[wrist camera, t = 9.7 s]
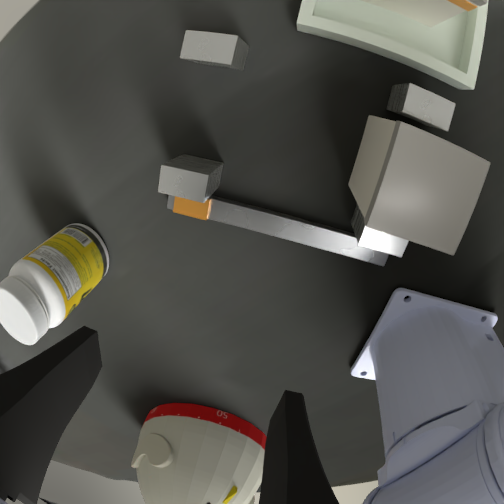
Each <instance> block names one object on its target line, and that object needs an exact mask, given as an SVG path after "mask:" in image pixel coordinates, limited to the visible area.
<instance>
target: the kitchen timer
mask: <svg viewBox="0 0 504 504" xmlns="http://www.w3.org/2000/svg"><path fill="white" fill-rule="evenodd" d="M266 438H267V437H266V436H265V434H264V433H263V432H262V431H260V430H259V429H258V428H256V427H255V426H254V425H252V424H251V423H249V422H247V421H245V420H243V419H241V418H239V417H237V416H235V415H233V414H230V413H227V412H224V411H221V410H218V409H215V408H212V407H207V406H202V405H197V404H190V403H169V404H163V405H159V406H157V407H155V408H154V409H152V410H150V412H149V414H148V416H147V418H146V420H145V422H144V424H143V426H142V428H141V431H140V435H139V439H138V446H137V448H136V451H135V454H134V456H133V460H132V464H131V467H134V468H137V477H138V483H139V487H140V490H141V493H142V496H143V499H144V501H145V504H254V500H255V497H254V494H255V493H256V491H257V489H258V488H259V486H260V484H261V482H262V473H263V463H264V453H265V443H266Z"/></svg>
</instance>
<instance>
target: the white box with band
mask: <svg viewBox="0 0 504 504" xmlns="http://www.w3.org/2000/svg"><path fill="white" fill-rule="evenodd" d="M361 1H364V2H367V3H370V4H373V5H376V6H379V7H382V8H385V9H388V10H390V11H393V12H395V13H398V14H401V15H403V16H406V17H408V18H410V19H413V20H415V21H417V22H420V23H422V24H424V25H427V26H429V27H433V26H435V25H437V24H439V23H441V22H443V21H445V20H447V19H449V18H451V17H454V16H456V15H458V14H460V13H462V12H464V11H471V10H473V9H475V8H477V6H482V5H485V4H487V0H361Z"/></svg>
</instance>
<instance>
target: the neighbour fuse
mask: <svg viewBox="0 0 504 504" xmlns="http://www.w3.org/2000/svg"><path fill="white" fill-rule="evenodd" d="M489 166H490V162H488V161H487V160H485V159H483V158H481V157H479V156H477V155H475V154H473V153H471V152H469V151H467V150H465V149H463V148H461V147H459V146H457V145H455V144H453V143H450V142H448V141H446V140H444V139H442V138H440V137H437V136H435V135H433V134H431V133H428V132H426V131H424V130H421V129H419V128H416V127H414V126H411V125H409V124H406V123H404V122H401V121H398V120H396V121H392V120H388V119H384V118H380V117H376V116H372V115H369V116H368V120H367V124H366V127H365V131H364V134H363V138H362V141H361V144H360V148H359V151H358V155H357V158H356V161H355V164H354V168H353V171H352V174H351V177H350V180H349V184H348V185H349V187H350V189H351V191H352V193H353V196H354V198H355V200H356V202H357V204H358V206H359V208H360V210H361V212H362V215H363V217H364V223H365V226H366V227H367V228H371V229H374V230H377V231H380V232H383V233H387V234H390V235H393V236H396V237H399V238H402V239H405V240H409V241H412V242H415V243H418V244H421V245H424V246H427V247H430V248H433V249H436V250H439V251H442V252H445V253H447V254H450V255H453V256H454V254H455V252H456V249H457V247H458V245H459V243H460V241H461V238H462V236H463V234H464V232H465V229H466V227H467V225H468V222H469V220H470V217H471V215H472V213H473V210H474V208H475V205H476V203H477V200H478V197H479V195H480V192H481V189H482V187H483V184H484V181H485V178H486V175H487V172H488V169H489Z"/></svg>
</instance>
